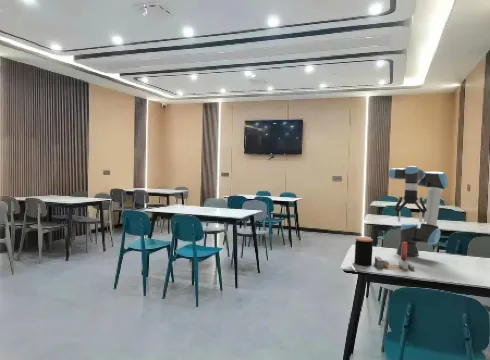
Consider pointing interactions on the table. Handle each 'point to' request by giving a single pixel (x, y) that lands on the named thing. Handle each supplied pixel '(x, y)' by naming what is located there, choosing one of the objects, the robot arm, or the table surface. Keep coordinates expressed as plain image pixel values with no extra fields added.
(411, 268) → the board
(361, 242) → the coffee jar
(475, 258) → the table surface
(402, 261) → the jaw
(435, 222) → the robot arm
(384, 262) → the nut
